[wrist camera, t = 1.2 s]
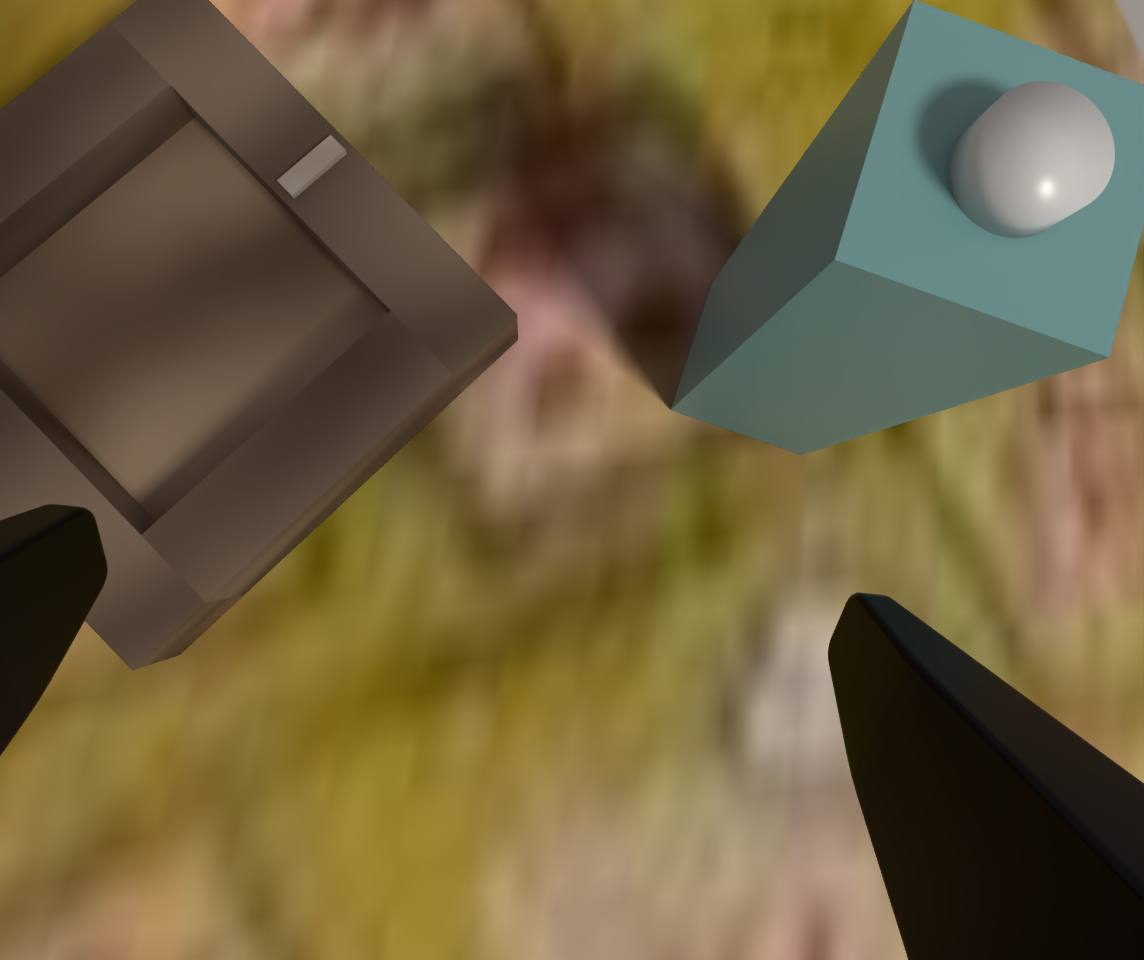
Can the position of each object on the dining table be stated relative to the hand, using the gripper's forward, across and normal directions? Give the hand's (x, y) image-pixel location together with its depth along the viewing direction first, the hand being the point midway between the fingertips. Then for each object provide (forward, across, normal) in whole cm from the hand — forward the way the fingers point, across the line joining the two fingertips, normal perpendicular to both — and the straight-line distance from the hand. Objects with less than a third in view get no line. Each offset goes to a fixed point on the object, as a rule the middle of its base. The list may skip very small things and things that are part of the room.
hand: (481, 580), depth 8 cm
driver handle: (+15, -7, +2) cm, 17 cm away
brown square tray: (+14, +10, +3) cm, 18 cm away
